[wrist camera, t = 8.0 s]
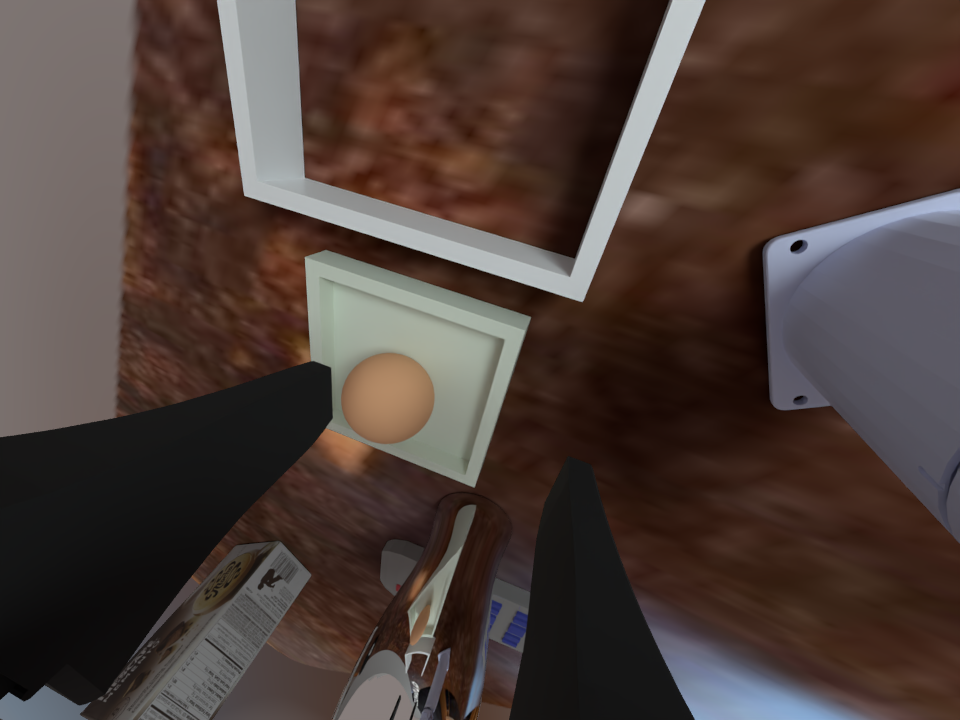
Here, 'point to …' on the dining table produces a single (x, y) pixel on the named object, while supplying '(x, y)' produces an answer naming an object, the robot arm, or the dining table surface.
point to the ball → (387, 398)
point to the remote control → (506, 598)
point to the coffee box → (207, 639)
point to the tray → (417, 354)
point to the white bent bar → (281, 181)
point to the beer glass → (435, 624)
